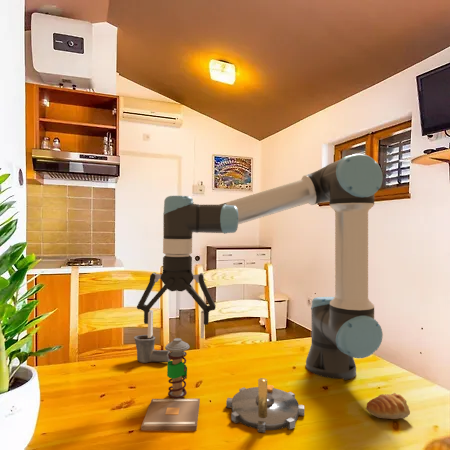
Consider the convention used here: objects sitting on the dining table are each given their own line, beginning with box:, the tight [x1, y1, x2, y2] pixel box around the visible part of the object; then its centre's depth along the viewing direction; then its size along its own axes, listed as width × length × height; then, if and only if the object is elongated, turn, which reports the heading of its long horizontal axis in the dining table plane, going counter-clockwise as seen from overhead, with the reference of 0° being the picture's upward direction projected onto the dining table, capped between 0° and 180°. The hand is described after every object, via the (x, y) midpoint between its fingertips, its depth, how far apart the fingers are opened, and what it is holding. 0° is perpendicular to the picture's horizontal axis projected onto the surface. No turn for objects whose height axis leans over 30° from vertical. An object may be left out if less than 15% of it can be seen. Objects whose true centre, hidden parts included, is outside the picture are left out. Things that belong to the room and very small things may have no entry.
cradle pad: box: [140, 398, 201, 432], centre depth 82 cm, size 12×12×1 cm
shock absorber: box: [164, 337, 190, 399], centre depth 91 cm, size 6×6×15 cm
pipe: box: [133, 334, 171, 364], centre depth 114 cm, size 6×13×8 cm, turn 76°
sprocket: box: [225, 377, 305, 433], centre depth 84 cm, size 19×19×10 cm
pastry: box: [365, 392, 411, 420], centre depth 83 cm, size 9×7×4 cm
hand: (176, 336), depth 91 cm, fingers open, 13 cm apart
